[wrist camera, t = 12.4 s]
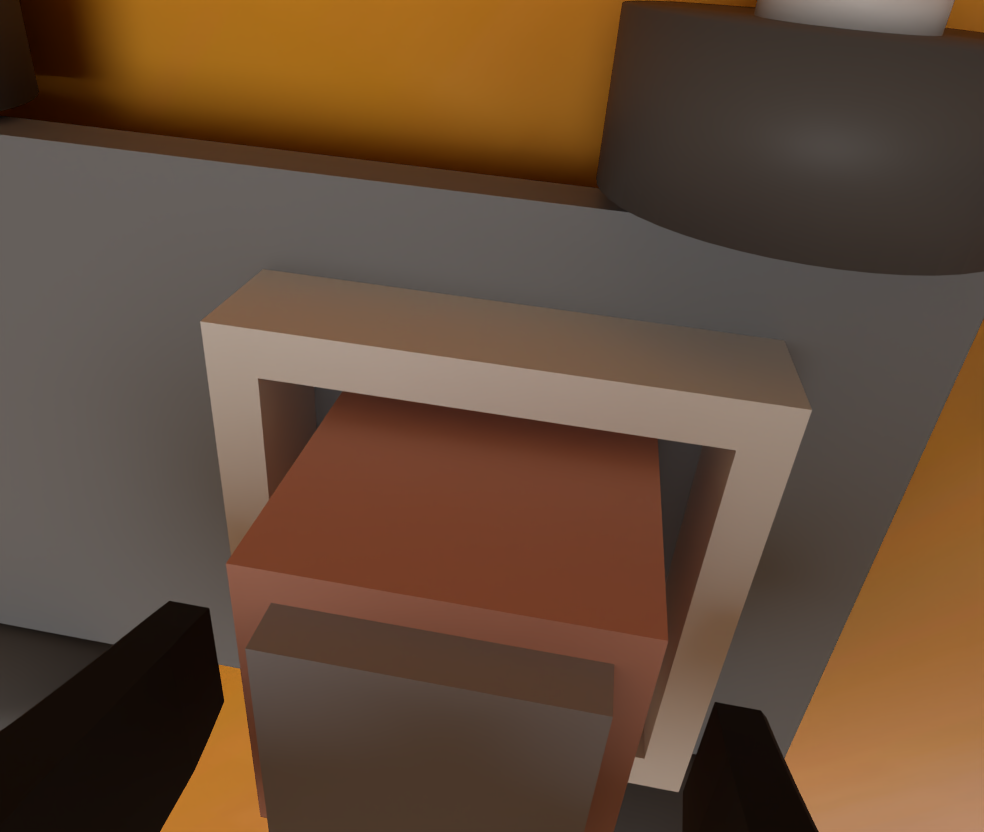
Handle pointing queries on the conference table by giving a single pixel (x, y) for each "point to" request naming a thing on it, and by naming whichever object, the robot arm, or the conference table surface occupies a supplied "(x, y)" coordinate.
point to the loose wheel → (15, 58)
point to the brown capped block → (451, 622)
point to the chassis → (514, 337)
